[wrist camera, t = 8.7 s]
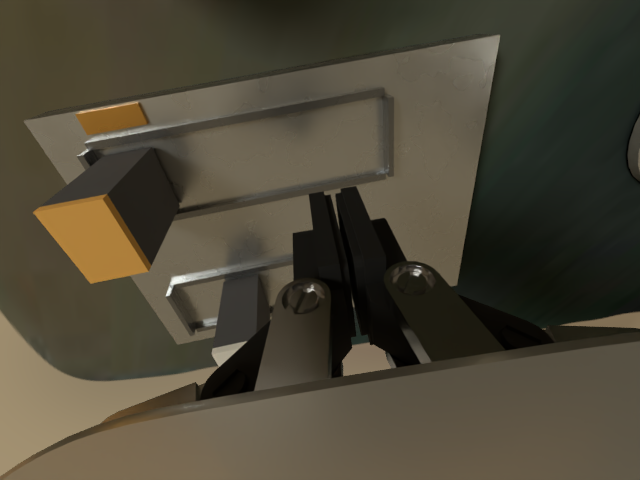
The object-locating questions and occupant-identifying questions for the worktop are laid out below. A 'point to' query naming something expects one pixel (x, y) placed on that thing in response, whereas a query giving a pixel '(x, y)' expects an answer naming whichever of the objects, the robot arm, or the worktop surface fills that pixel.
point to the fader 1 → (113, 215)
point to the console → (294, 163)
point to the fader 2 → (239, 315)
